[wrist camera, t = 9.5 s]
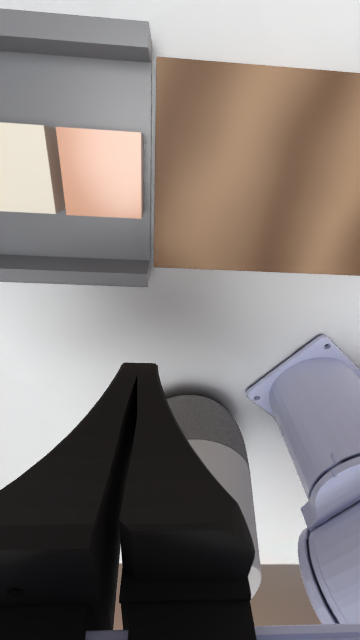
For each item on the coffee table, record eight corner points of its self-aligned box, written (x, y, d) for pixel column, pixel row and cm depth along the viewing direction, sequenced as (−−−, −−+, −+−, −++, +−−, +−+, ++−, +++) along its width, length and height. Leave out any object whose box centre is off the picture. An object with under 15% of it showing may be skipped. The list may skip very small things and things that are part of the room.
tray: (151, 43, 15) (148, 21, 12) (149, 270, 20) (147, 287, 18) (-105, 21, 14) (-162, -6, 12) (-33, 263, 20) (-61, 279, 17)
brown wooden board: (460, 89, 16) (486, 83, 15) (386, 269, 21) (401, 277, 20) (157, 64, 15) (156, 56, 14) (154, 259, 20) (153, 267, 19)
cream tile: (57, 128, 16) (43, 125, 14) (66, 207, 18) (55, 213, 16) (-22, 122, 16) (-46, 119, 14) (-3, 204, 18) (-22, 210, 16)
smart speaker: (232, 454, 30) (277, 664, 18) (139, 458, 30) (119, 672, 17) (241, 380, 25) (309, 594, 13) (130, 383, 25) (94, 604, 13)
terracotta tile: (143, 134, 16) (140, 132, 14) (143, 212, 18) (141, 218, 16) (68, 129, 16) (55, 126, 14) (76, 208, 18) (66, 215, 16)
